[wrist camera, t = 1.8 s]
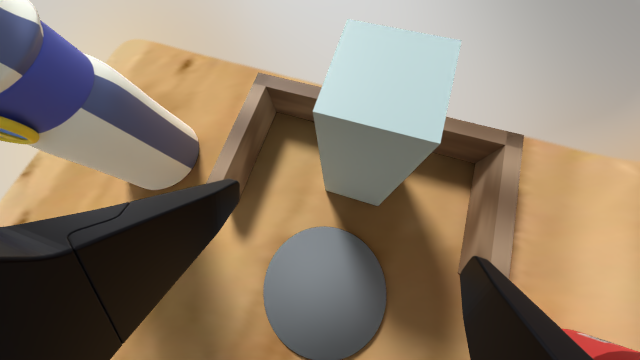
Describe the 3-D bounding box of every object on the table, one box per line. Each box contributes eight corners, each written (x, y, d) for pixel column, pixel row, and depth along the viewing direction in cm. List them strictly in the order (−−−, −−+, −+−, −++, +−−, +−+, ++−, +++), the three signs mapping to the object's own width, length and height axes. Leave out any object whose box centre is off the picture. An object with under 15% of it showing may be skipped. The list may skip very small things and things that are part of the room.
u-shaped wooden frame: (473, 278, 19) (508, 285, 15) (227, 197, 22) (204, 186, 18) (490, 155, 22) (523, 135, 18) (270, 99, 25) (258, 72, 21)
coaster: (276, 373, 18) (275, 376, 17) (256, 242, 21) (254, 242, 20) (402, 340, 18) (404, 342, 18) (364, 214, 21) (365, 214, 20)
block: (378, 206, 21) (440, 144, 9) (325, 190, 22) (312, 111, 9) (390, 156, 22) (461, 40, 10) (340, 143, 23) (347, 18, 11)
